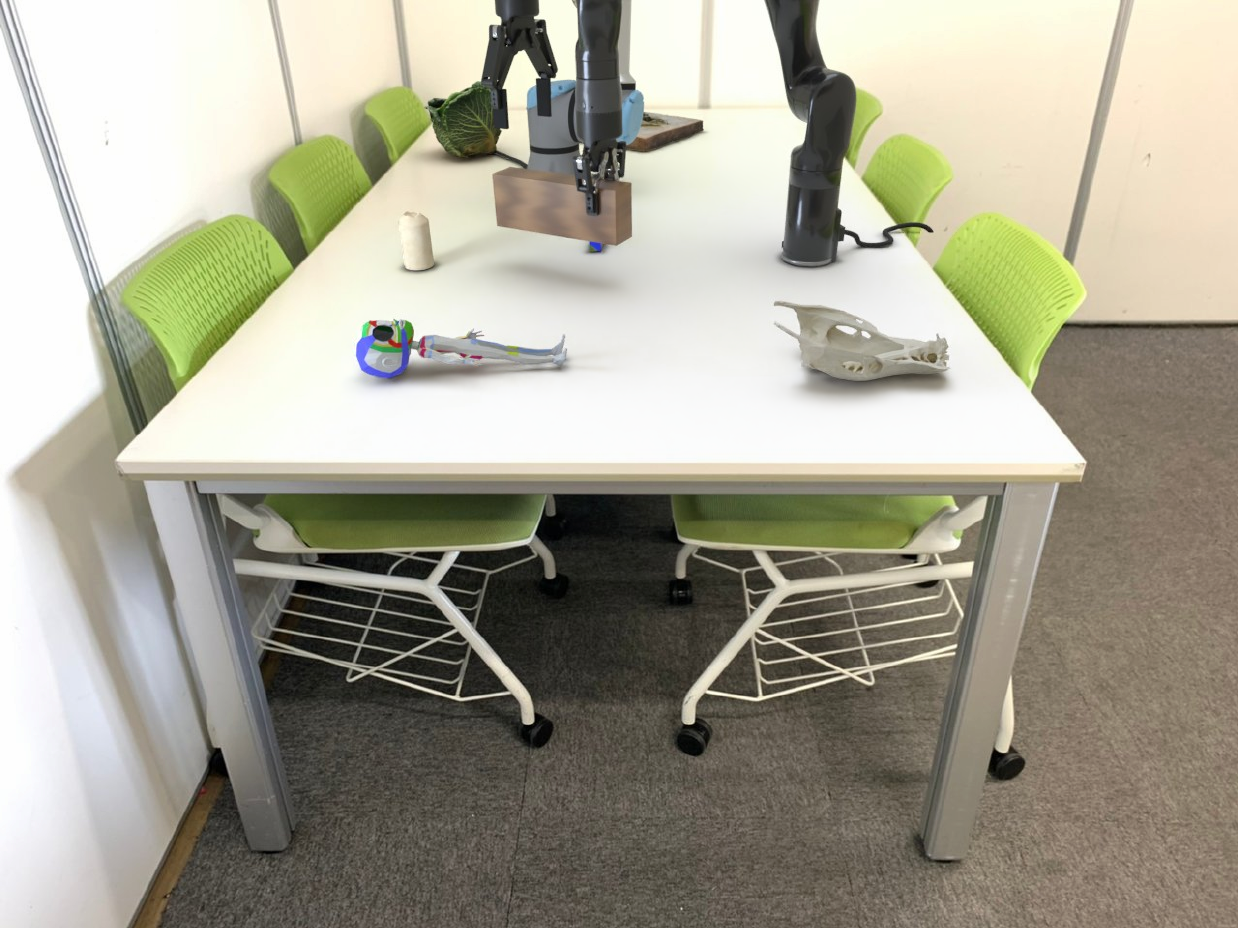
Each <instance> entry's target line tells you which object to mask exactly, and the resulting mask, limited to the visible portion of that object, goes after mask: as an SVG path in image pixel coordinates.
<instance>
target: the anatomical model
mask: <svg viewBox="0 0 1238 928" xmlns="http://www.w3.org/2000/svg"><path fill="white" fill-rule="evenodd" d="M773 307H783V308H784V307H785V308H788V309H792V310H793V311H794V312H795V313H796V319H797V321H798V324H799V331H800V332H799V333H800V334H798V333H796V332H795V331H792V330H791V329H789V328H788V327H786V326H784V325H782V324H781V323H779V322H777V321H774V322H773V325H774V326H775V327H777V328H778V329H780V330H782V331H783V332H785V333H786V334H787V335H789V336H791V337H793V338H794V339H796V340H797V342H798V344H799V345H798V347H799V350H800V354H801V360H802V361H801V367H803V368H808V369H813V370H817V371H821V372H823V373H825V374H827V375H829V376H830V377H833V378H835V379H841V380H847V381H854V382H857V381H858V382H861V381H864V382H865V381H872V380H876V379H882V378H886V377H890V376H891V377H892V376H898V375H909V374H915V375H916V374H917V375H919V374H920V375H929V374H931V375H932V374H933V375H934V374H939V373H943V372H947V371H949V370H951V369H952V367H950V366H947V361H950V355H949V354H947V353H948V351H947V349H948V348H949V347H950V346H949V345H948V341H947V339H946V337H940V334H939V333H936V334H935V336H936V340H929V339H928V341H922V340H919V339H914V338H905V337H904V338H903V337H896V336H889V335H887V334H885V333H883V332H881V331H879V330H878V328H877V326H875V325H874V324H873V323H871V322H870V321H868V320H866V319H863V318H861V317H860V316H857V315H854V314H852V313H850V312H847V311H845V310H841V309H838V308H835V307H830V306H827V305H822V304H799V303H795V302H788V301H783V300H775V301H774V302H773ZM859 321H860V322H861V323H860V322H859ZM839 326H840V327H841V326H842V327H849V328H852V329H854V330H856V331H855V332H854V333H853V334H852V333H847V332H845V331H844V330H842V329H839V328H838V327H839ZM862 332H866V333H867V334H868V335H869V337H867V336H864V335H863V333H862Z"/></svg>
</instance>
